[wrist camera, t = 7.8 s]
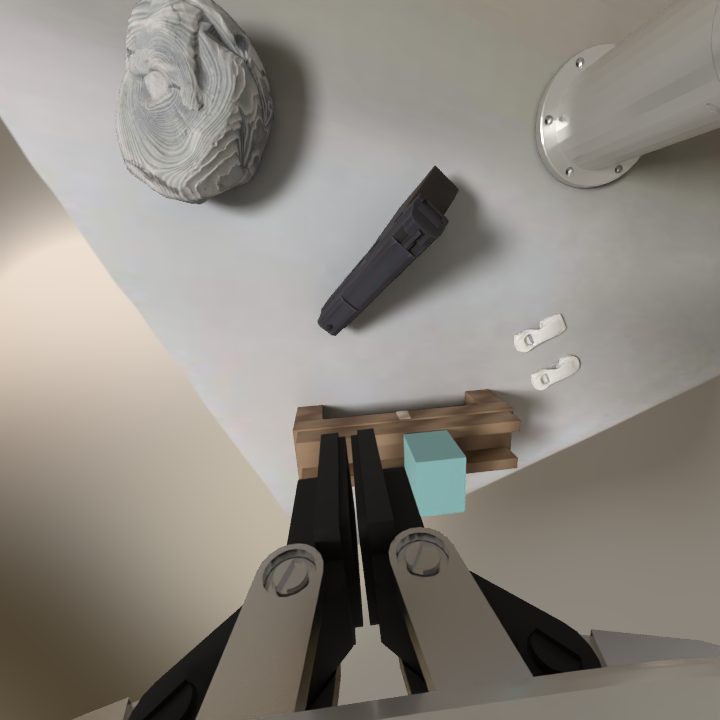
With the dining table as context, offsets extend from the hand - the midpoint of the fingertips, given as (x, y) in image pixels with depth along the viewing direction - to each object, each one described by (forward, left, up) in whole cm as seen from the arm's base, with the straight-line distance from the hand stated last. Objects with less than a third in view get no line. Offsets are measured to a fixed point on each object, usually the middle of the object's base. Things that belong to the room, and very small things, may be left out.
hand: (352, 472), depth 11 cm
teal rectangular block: (-8, +13, -23) cm, 28 cm away
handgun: (-5, -7, -30) cm, 31 cm away
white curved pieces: (-26, +6, -30) cm, 40 cm away
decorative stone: (+11, -20, -30) cm, 37 cm away
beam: (-7, +13, -29) cm, 33 cm away
